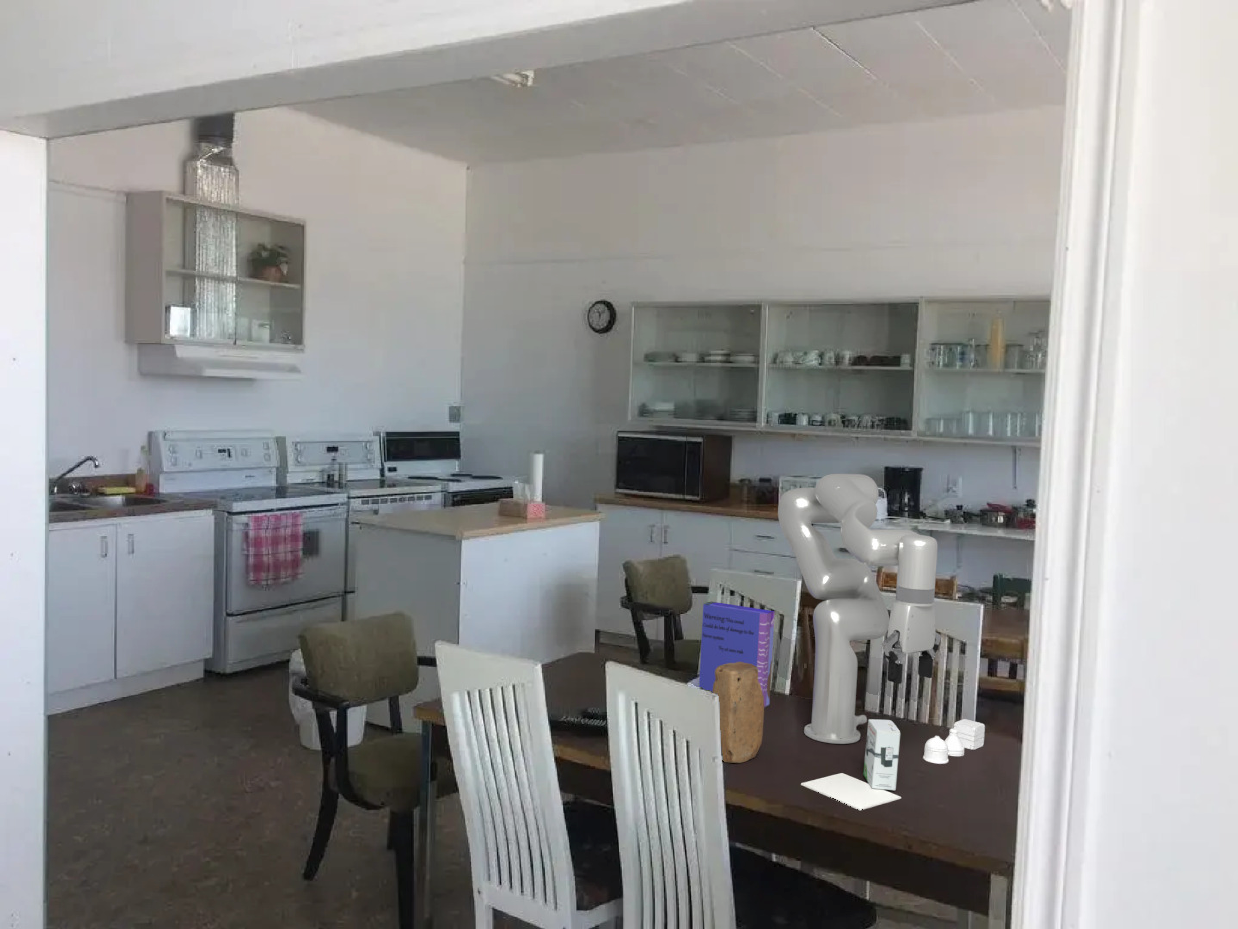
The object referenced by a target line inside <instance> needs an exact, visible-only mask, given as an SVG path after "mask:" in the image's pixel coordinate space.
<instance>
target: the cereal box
mask: <svg viewBox="0 0 1238 929" xmlns="http://www.w3.org/2000/svg"><path fill="white" fill-rule="evenodd" d="M701 624H702V625H701V642H700V643H701V644H700V663H699V681H698V682H699V683H698V688H699V687H702V688H703V689H705V690H710V691H713V684H714V681H715V670H716V668H717V667H718V666H720V665H723V664H727V663H736V662H744V663H749V664H753V665H754V666H756V667H757V668H758V682H759V683H760V686H761V690H762V694H763V696H764V709H766V708H767V707H769V706H770V703H771V702H770V699H771V680H772V668H773V667H772V665H773V664H772V663H773V649H774V648H773V647H774V628H775V611H774V610H770V609H769V610H768V609H762V608H757V607H749V606H743V605H736V604H730V603H723V602H716V601H707V602H705V603H703V607H702V623H701Z"/></svg>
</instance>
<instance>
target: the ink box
mask: <svg viewBox="0 0 1238 929" xmlns="http://www.w3.org/2000/svg"><path fill="white" fill-rule="evenodd" d="M867 722H868V723H867V734H866V743H865V754H864V764H863V774H862V775H863V776H864V778H865V780H866V781H867V783H868V784H870V786H871V788H874V789H883V790H885V791H896V789H897V780H898V766H899V754H900V753H899V752H900V741H901V730H899V728H898V727H897V725H896V724H895V723H894V722H893V721H892V720H890V719H872V718H871V719H870V718H869V719H867Z"/></svg>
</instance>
